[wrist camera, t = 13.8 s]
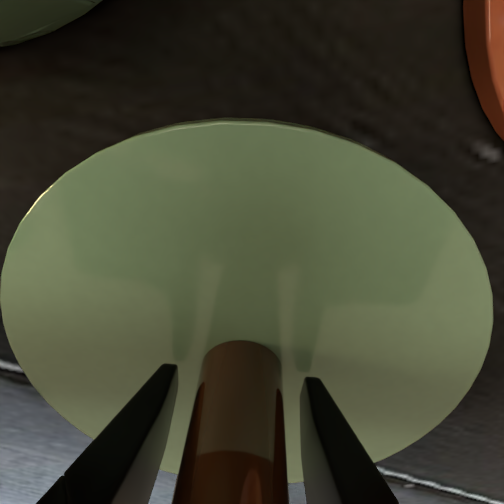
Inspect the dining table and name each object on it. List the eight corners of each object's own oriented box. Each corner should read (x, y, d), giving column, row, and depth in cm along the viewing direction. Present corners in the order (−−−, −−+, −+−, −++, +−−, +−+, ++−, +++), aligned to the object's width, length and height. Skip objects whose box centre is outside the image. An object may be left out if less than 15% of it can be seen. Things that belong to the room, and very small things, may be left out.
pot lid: (389, 470, 14) (452, 679, 9) (71, 441, 14) (-30, 640, 9) (577, 145, 7) (1191, 313, 2) (-48, 82, 7) (-714, 125, 2)
